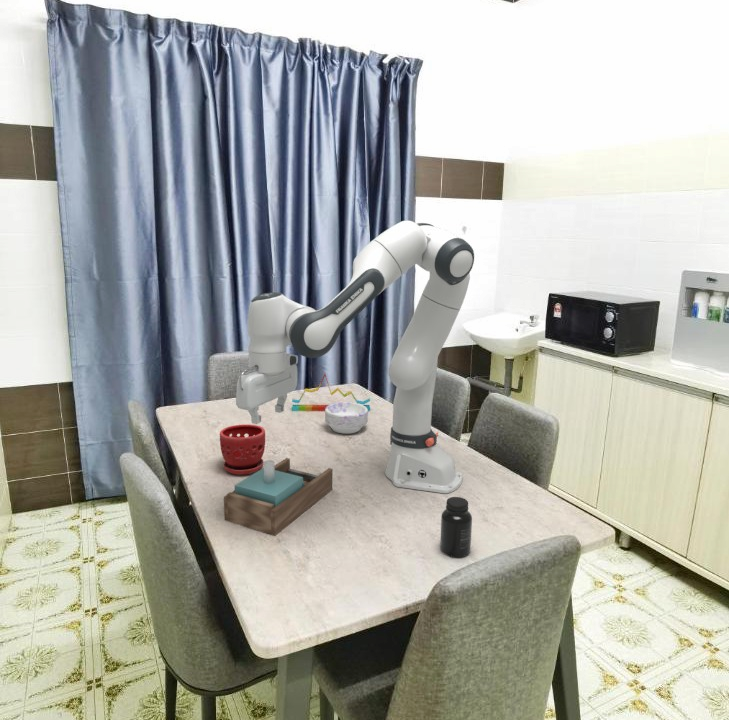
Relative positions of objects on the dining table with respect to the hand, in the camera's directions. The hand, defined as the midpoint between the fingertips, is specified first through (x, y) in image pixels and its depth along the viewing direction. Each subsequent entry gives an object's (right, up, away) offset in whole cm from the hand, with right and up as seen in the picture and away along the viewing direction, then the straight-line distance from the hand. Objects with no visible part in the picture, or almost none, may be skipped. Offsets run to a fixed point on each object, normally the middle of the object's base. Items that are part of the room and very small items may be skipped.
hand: (268, 417), depth 137 cm
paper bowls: (+17, -11, +65) cm, 68 cm away
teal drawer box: (0, -23, +6) cm, 24 cm away
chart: (+10, -6, +86) cm, 87 cm away
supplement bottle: (+44, -29, -9) cm, 53 cm away
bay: (+2, -24, +10) cm, 26 cm away
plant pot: (-13, -19, +31) cm, 39 cm away
